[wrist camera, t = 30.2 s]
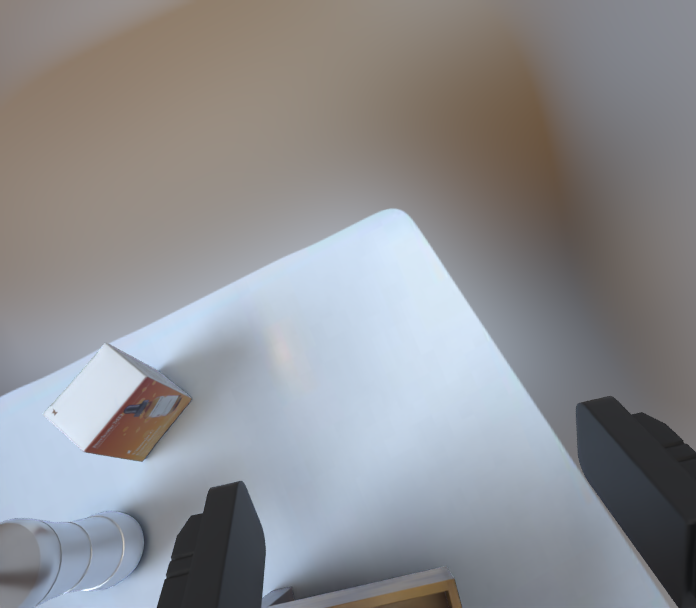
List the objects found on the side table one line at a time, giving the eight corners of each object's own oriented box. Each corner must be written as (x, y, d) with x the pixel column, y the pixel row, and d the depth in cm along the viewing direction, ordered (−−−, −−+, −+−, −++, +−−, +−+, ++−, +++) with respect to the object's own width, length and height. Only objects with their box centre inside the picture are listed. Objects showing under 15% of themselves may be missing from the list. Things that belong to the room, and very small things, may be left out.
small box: (142, 463, 51) (81, 455, 42) (105, 430, 53) (38, 415, 43) (194, 398, 53) (148, 376, 43) (157, 368, 55) (104, 340, 45)
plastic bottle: (164, 552, 48) (15, 588, 30) (104, 602, 47) (-90, 672, 29) (132, 495, 50) (-27, 496, 32) (73, 542, 49) (-126, 570, 31)
